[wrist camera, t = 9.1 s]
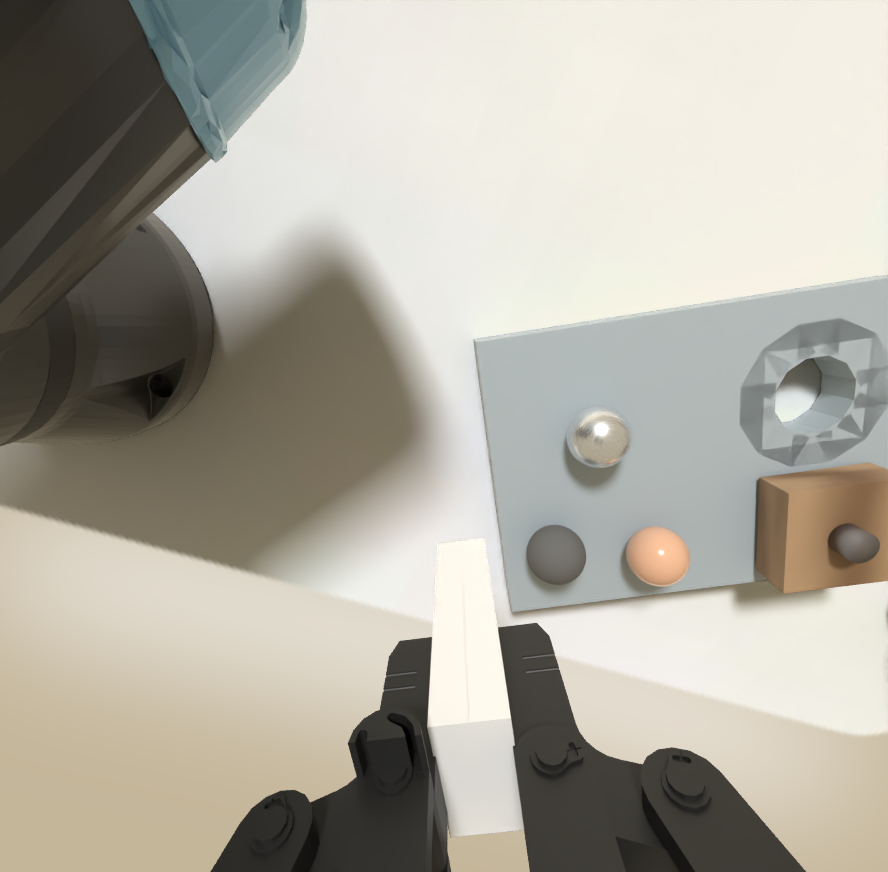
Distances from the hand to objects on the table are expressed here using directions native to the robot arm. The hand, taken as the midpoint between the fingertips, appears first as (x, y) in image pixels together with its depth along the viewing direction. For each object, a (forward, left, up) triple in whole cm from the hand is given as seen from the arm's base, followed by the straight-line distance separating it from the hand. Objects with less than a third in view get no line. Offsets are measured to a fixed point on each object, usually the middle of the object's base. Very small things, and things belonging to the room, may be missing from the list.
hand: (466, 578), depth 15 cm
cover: (+21, -8, -13) cm, 26 cm away
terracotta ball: (+11, -8, -12) cm, 18 cm away
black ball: (+5, -7, -12) cm, 14 cm away
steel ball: (+8, 0, -12) cm, 14 cm away
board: (+14, -3, -16) cm, 21 cm away
